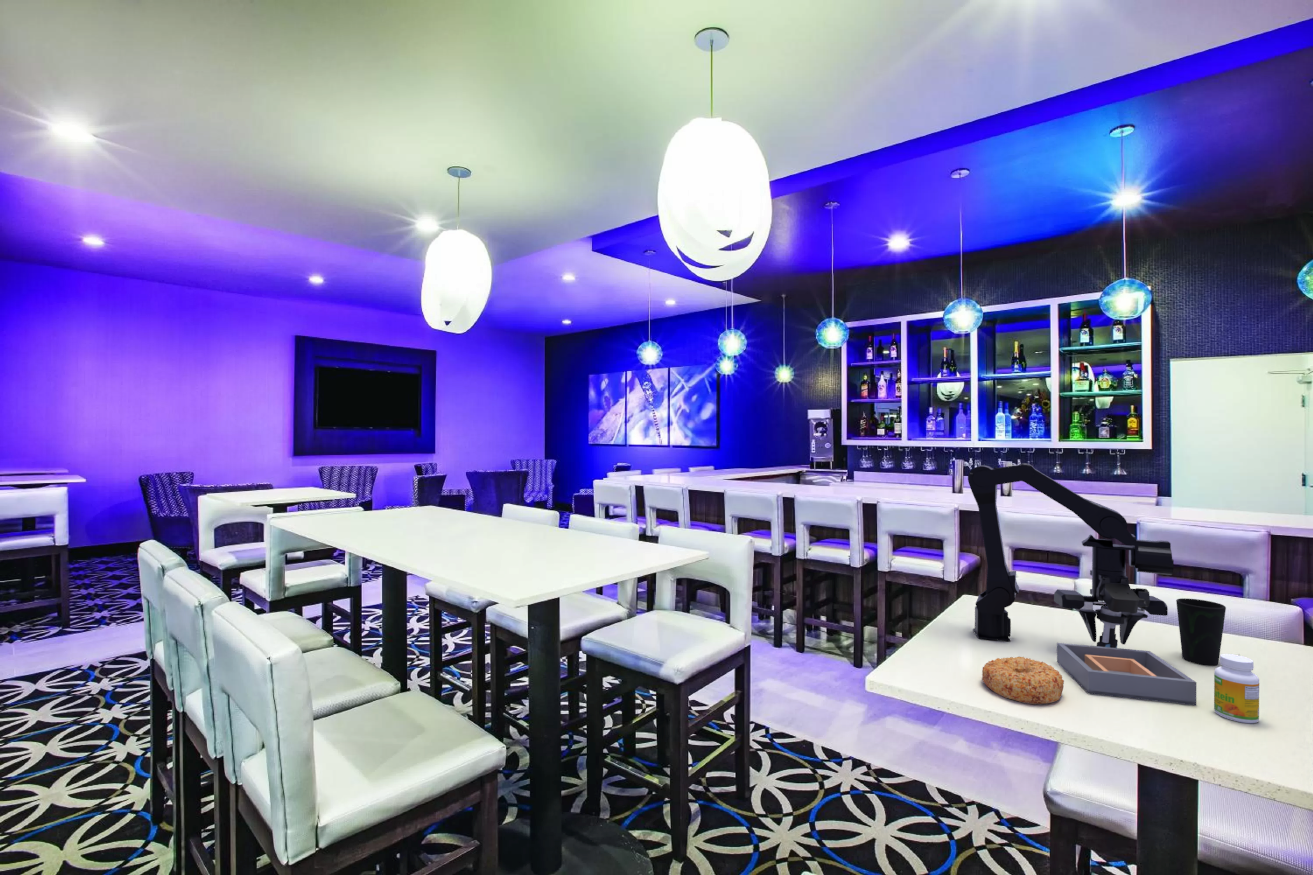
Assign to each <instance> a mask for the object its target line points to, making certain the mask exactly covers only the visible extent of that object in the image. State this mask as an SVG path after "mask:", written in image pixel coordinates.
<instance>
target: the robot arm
mask: <svg viewBox="0 0 1313 875" xmlns="http://www.w3.org/2000/svg"><path fill="white" fill-rule="evenodd" d="M967 475H968V476H967V482H968V484H969V488H970V490H971V493H972V495H973V497H974V498H973V499H974V500H975V502H976V504H977V507H978V514H979V520H980V526H981V532H982V533H981V534H982V539H983V546H984V551H985V558H986V564H987V569H986V585H985V586H986V587H985V588H986V589H985V590H984V591H982V592H981V593H980V594H978V597H977V599H976V602H975V606H974V627H973V628H972V631H973V633H974V635H975V636H976V638H978V639H979V640H980V639H981V640H991V641H1003V642H1011V638H1010V637H1011V634H1012V633H1011V632H1012V631H1011V630H1012V629H1011V628H1012V626H1011V625H1012V623H1011V618H1010V617H1009V612H1008V610H1006V608H1008V607H1010V606H1012V604H1014V603H1015V600H1016V595H1018V594H1019V592H1020V591H1019V590H1020V586H1019V585H1018V583H1017V570H1012V571H1010V568H1009V567H1008V564H1007V562H1006V555H1005V550H1004V542H1003V537H1002V536H1003V535H1002V531H1001V525H1000V518H999V512H998V507H997V501H998V500H997V499H998V485H1005V484H1011V483H1017V482H1023V483H1025V484H1027V485H1029V486H1030V487H1032V488H1033V489H1035V490H1037V491H1038V492H1040V493H1042V494H1043V495H1045V496H1046V497H1047V498H1050V499H1051V500H1053V501H1055V502H1056V503H1058V504H1060V505H1061V506H1062V507H1064V508H1066V509H1067V510H1069V511H1071V512H1073V513H1074V514H1075V515H1076V516H1077V517H1078V518H1079V519H1080V520H1082V522H1084V523H1085V524H1086V525H1087V526H1088V527H1090V528H1091V529H1092V530H1093V531H1095V533H1096V534H1098V536H1100V537H1103V538H1096V537H1095V536H1094V535H1093V534H1089V535H1088V537H1087V538H1085V539H1084V540H1082V541H1081V545H1082V546H1083V547H1087V548H1089V547H1090V548H1092V551H1091V552H1092V554H1091V562H1092V563H1091V569H1089V575H1090V576H1091V588H1090V589H1089V594H1090V595H1083V594H1081V593H1079V592H1078V591H1076V590H1071V589H1060V588H1059V589H1056V590H1055V591H1054V594H1053V602H1054V603H1056V604H1058V606H1060V607H1062V608H1065V609H1073V610H1076V611H1077V612H1078V613H1079V615H1080V617H1081V619H1082V621H1083V622H1084V624H1085V628H1086V630H1087V631H1088V635H1089V637H1090V639H1091V641H1092V642H1093V643H1097V626H1096V625H1097V624H1096V623H1097V622H1096V617H1097V612H1096V611H1095V609H1094V606H1100V607H1101V606H1108V609H1109V610H1111V611H1113V612H1122V614H1124V615H1126V616H1127V618H1126V619H1124V624H1120V625H1119V640H1120V643H1121V645H1126V643H1127V641H1128V639H1129V638H1130V635H1131V633H1132V631H1133V629H1134V627H1135V626H1136V624H1137V623H1138V622H1139V621H1140V620H1142V619H1148V617H1149V615H1153V616H1164V617H1166V616H1168V615H1169V614H1168V611H1169V610H1168V605H1167V603H1166V602H1165V601H1164V600H1162V599H1159V598H1158V597H1155V596H1154V595H1150V591H1149V590H1148V589H1147V588H1141V587H1140V588H1139V587H1138V588H1137V587H1136V588H1131V586H1130V580H1129V577H1128V576H1127V572H1126V571H1127V570H1126V569H1127V566H1126V563H1127V562H1126V560H1127V556H1126V555H1127V554H1126V553H1127V551H1128V565H1129V566H1130V567H1134V569H1135V572H1136V573H1145V574H1146V573H1147V574H1156V575H1167V576H1172V575H1174V574H1173V573H1174V565H1175V564H1174V558H1173V553H1172V548H1171V546H1172V545H1171V544H1172V543H1171V542H1170V541H1169V540H1150V539H1149V540H1145V539H1136V536H1135V535H1134V534H1132V533H1131V532H1129V530H1128V522H1127V519H1126V518H1125V517H1124V516H1123V515H1122V514H1121V513H1120V512H1118V511H1116V509H1115V510H1114V509H1113V508H1109V507H1108V506H1104V505H1102V504H1101V503H1097V502H1095V501H1092V500H1090V499H1087V498H1085V497H1082V496H1081V495H1079V494H1078V493H1076V492H1075V491H1073V490H1071V489H1069V488H1068V487H1066V486H1064V485H1063V484H1061V483H1060V482H1058V481H1056V480H1054V479H1053V478H1051V477H1049V476H1047V475H1046V474H1045V473H1043V472H1041V471H1040V470H1038V469H1036V468H1035V467H1034V466H1033V465H1032V464H1030V463H1025V462H1023V463H1020V464H1015V465H1007V466H1001V467H991V466H989V465H978V466H975V467H974V468H972V469H971V470H970V472H968V474H967ZM1113 539H1115V540H1117V541H1118V542H1120V543H1122V544H1116V543H1114V542H1113ZM1146 612H1147V613H1148V614H1146Z"/></svg>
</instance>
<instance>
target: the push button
mask: <svg viewBox="0 0 1313 875" xmlns="http://www.w3.org/2000/svg"><path fill="white" fill-rule="evenodd" d="M1094 611H1096V612H1097V614H1096V617H1095V619H1097V620H1099V622H1100V623H1101V622H1102V624H1103V630H1102V632H1101V635H1099V638H1098V641H1096V646H1099V647H1110V648H1118V643H1119V642H1118V639H1117V638H1116V637H1117V633H1116V627H1117V626H1120V624H1124V619H1126V618H1127V616H1126V615H1124V614H1122V612H1113V611H1111V610H1109V609H1108V606H1100V608H1099V609H1098V608H1097V609H1094Z"/></svg>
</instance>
